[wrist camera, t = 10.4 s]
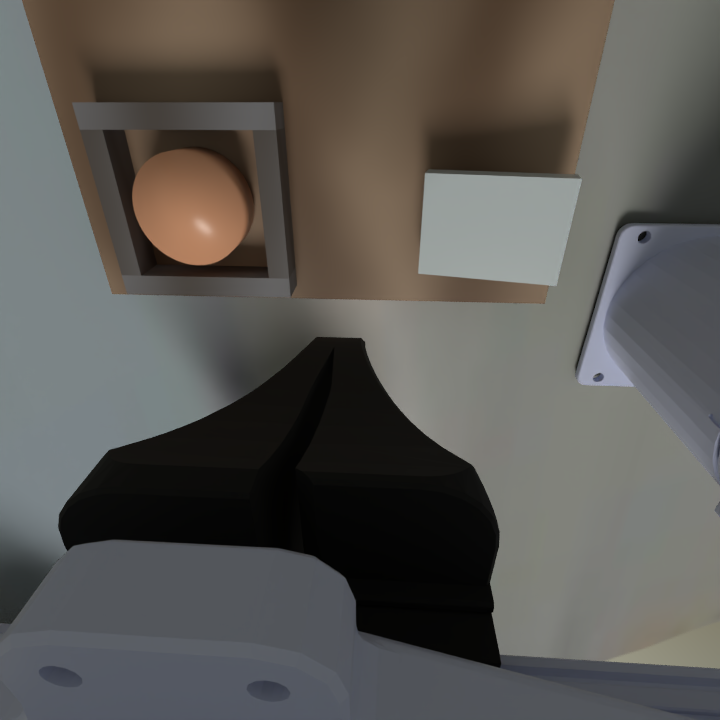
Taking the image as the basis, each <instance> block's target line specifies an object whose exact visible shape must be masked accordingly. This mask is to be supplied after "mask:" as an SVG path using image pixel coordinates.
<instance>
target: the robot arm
mask: <svg viewBox="0 0 720 720" xmlns="http://www.w3.org/2000/svg"><path fill="white" fill-rule="evenodd" d="M644 231H646V232H647V233H646V236H645V238H644V239H643V240H641V241H638V236H639V235H640V234H641V233H642V232H644ZM597 373H601V374H600V375H599V376H598V377H595V378H593V377H594V375H596V374H597ZM575 377H576V379H577V380H578V382H579V383H581V384H583V385H601V386H632V387H636V388H637V390H638V391H639V392H640V393H641V394H642V395H643V397H644V398H645V399H646V400H647V401H648V402H649V404H650V405H651V406H652V407H653V408H654V409H655V411H656V412H657V413H658V414H659V415H660V416H661V418H662V419H663V420H664V421H665V422H666V423H667V425H668V426H669V427H670V428H671V429H672V430H673V432H674V433H675V434H676V435H677V436H678V437H679V439H680V440H681V441H682V442H683V443H684V444H685V446H686V447H687V448H688V449H689V450H690V451H691V453H692V454H693V455H694V456H695V457H696V459H697V460H698V461H699V462H700V463H701V464H702V466H703V467H704V468H705V469H706V470H707V471H708V473H709V474H710V475H711V476H712V477H713V478H714V480H715V481H716V482H717V483H718V484H719V485H720V224H666V223H629V224H626V225H624V226H622V227H621V228H620V229H619V231H618V233H617V235H616V238H615V241H614V244H613V248H612V251H611V255H610V258H609V261H608V265H607V268H606V272H605V275H604V278H603V282H602V285H601V289H600V292H599V295H598V299H597V302H596V305H595V309H594V312H593V316H592V319H591V322H590V326H589V329H588V333H587V336H586V339H585V343H584V346H583V350H582V353H581V356H580V360H579V363H578V367H577V370H576V374H575ZM715 512H716V513H717V514H718V516H719V517H720V502H719V503H718V505H717V506H716V508H715ZM58 528H59V531H60V534H61V537H62V540H63V543H64V546H65V547H66V549H67V552H66V553H65V554H64V555H63V556H62V557H61V558H60V559H59V560H58V561H57V562H56V563H55V564H54V566H53V567H52V569H51V570H50V571H49V573H48V574H47V575H46V577H45V578H44V580H43V581H42V582H41V584H40V585H39V586H38V588H37V589H36V591H35V592H34V593H33V595H32V596H31V598H30V599H29V600H28V602H27V603H26V604H25V606H24V607H23V609H22V610H21V611H20V613H19V614H18V615H17V617H16V618H15V620H14V621H13V622H12V624H6V623H0V720H720V669H715V668H701V667H700V668H699V667H684V666H667V665H652V664H637V663H620V662H606V661H590V660H574V659H559V658H543V657H527V656H511V655H500V654H499V649H498V644H497V639H496V634H495V629H494V623H493V618H492V613H491V612H493V610H494V600H493V596H492V591H491V586H490V580H491V576H492V572H493V568H494V564H495V560H496V556H497V552H498V548H499V533H500V532H499V528H498V523H497V519H496V516H495V513H494V510H493V508H492V505H491V502H490V500H489V498H488V495H487V493H486V491H485V488H484V486H483V484H482V482H481V480H480V478H479V476H478V474H477V472H476V470H475V468H474V467H473V466H472V465H471V464H469V463H468V462H466V461H464V460H463V459H461V458H459V457H458V456H456V455H454V454H453V453H451V452H449V451H448V450H446V449H444V448H443V447H441V446H440V445H438V444H437V443H436V442H434V441H433V440H432V439H430V438H429V437H428V436H426V435H425V434H424V433H423V432H422V431H420V430H419V429H418V428H417V427H416V426H415V425H414V424H413V423H412V422H410V420H409V419H408V418H407V417H406V416H405V415H404V414H403V413H402V412H401V411H400V409H399V408H398V407H397V406H396V405H395V403H394V402H393V401H392V399H391V398H390V397H389V395H388V394H387V392H386V391H385V389H384V388H383V386H382V384H381V383H380V381H379V379H378V378H377V376H376V374H375V372H374V370H373V368H372V366H371V363H370V361H369V358H368V356H367V353H366V349H365V342H364V341H363V340H362V339H361V338H336V337H316V338H315V339H314V340H313V341H312V342H311V343H310V344H309V345H308V346H307V347H306V348H304V349H303V350H302V351H301V352H300V353H299V354H298V355H297V356H296V357H295V358H294V359H293V360H292V361H291V362H289V363H288V364H287V365H286V366H285V367H284V368H283V369H281V370H280V371H279V372H278V373H276V374H275V375H274V376H273V377H271V378H270V379H269V380H267V381H266V382H265V383H264V384H262V385H261V386H259V387H258V388H256V389H255V390H253V391H252V392H250V393H249V394H247V395H246V396H244V397H242V398H241V399H239V400H237V401H236V402H234V403H232V404H230V405H228V406H226V407H224V408H222V409H220V410H218V411H216V412H214V413H212V414H210V415H208V416H206V417H204V418H202V419H200V420H198V421H195V422H193V423H190V424H188V425H186V426H183V427H180V428H178V429H175V430H172V431H170V432H167V433H164V434H161V435H158V436H156V437H152V438H149V439H146V440H142V441H139V442H136V443H132V444H129V445H125V446H122V447H119V448H115V449H111V450H109V451H108V452H107V453H106V454H105V455H104V456H103V458H102V459H101V460H100V461H99V463H98V464H97V465H96V466H95V467H94V469H93V470H92V471H91V472H90V474H89V475H88V476H87V477H86V479H85V480H84V481H83V482H82V484H81V485H80V486H79V487H78V489H77V490H76V491H75V492H74V493H73V495H72V496H71V497H70V498H69V500H68V501H67V502H66V504H65V505H64V507H63V509H62V510H61V512H60V514H59V524H58Z"/></svg>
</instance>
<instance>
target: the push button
mask: <svg viewBox="0 0 720 720" xmlns="http://www.w3.org/2000/svg"><path fill="white" fill-rule="evenodd" d="M132 200H133V207H134V212H135V215H136V218H137V221H138V223H139V225H140V227H141V229H142V230H143V232H144V234H145V235H146V236H147V238H148V239H149V240H150V241H151V242H152V243H153V245H155V246H156V247H157V248H158V249H159V250H160V251H161V252H163V253H164V254H166V255H167V256H169V257H171V258H173V259H175V260H177V261H179V262H182V263H186V264H191V265H208V264H212V263H215V262H218V261H220V260H222V259H223V258H225V257H226V256H228V255H229V254H230V253H231V252H232V251H233V250H234V249H235V248H236V247H237V246H238V245H239V244H240V243H241V242H242V241H243V240H244V239H245V238H246V236H247V235H248V233H249V231H250V229H251V226H252V223H253V218H254V203H253V198H252V194H251V191H250V188H249V186H248V184H247V182H246V180H245V178H244V176H243V175H242V174H241V172H240V171H239V170H238V169H237V167H236V166H235V165H234V164H233V163H232V162H230V161H229V160H228V159H227V158H225V157H224V156H222V155H221V154H219V153H217V152H215V151H213V150H210V149H207V148H202V147H184V148H180V149H175V150H171V151H166V152H162V153H159V154H157V155H155V156H153V157H152V158H150V159H149V160H148V161H146V162H145V163H144V164H143V166H142V167H141V168H140V170H139V171H138V173H137V175H136V178H135V181H134V185H133V191H132Z"/></svg>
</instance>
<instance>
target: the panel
mask: <svg viewBox="0 0 720 720" xmlns="http://www.w3.org/2000/svg"><path fill="white" fill-rule="evenodd" d="M614 1H615V0H22V2H23V5H24V8H25V12H26V15H27V18H28V21H29V25H30V28H31V31H32V34H33V38H34V41H35V44H36V47H37V51H38V54H39V57H40V60H41V64H42V67H43V70H44V73H45V77H46V80H47V83H48V86H49V90H50V93H51V96H52V100H53V103H54V106H55V109H56V113H57V116H58V119H59V122H60V126H61V129H62V132H63V135H64V139H65V142H66V145H67V148H68V152H69V155H70V158H71V161H72V165H73V168H74V171H75V174H76V178H77V181H78V184H79V187H80V191H81V194H82V197H83V200H84V204H85V207H86V210H87V213H88V217H89V220H90V223H91V226H92V230H93V233H94V236H95V239H96V243H97V246H98V249H99V252H100V256H101V259H102V262H103V265H104V269H105V272H106V275H107V278H108V282H109V285H110V288H111V291H112V294H138V295H183V296H227V297H272V298H316V299H361V300H405V301H450V302H494V303H539V304H545V300H546V296H547V291H548V287H549V285H539V284H528V283H517V282H506V281H495V280H483V279H472V278H461V277H450V276H439V275H428V274H418V268H419V254H420V239H421V225H422V211H423V196H424V182H425V173H426V172H427V171H428V170H429V169H435V170H464V171H493V172H521V173H550V174H575V170H576V166H577V161H578V157H579V153H580V148H581V144H582V140H583V135H584V131H585V127H586V122H587V118H588V114H589V109H590V105H591V101H592V96H593V92H594V88H595V83H596V79H597V75H598V70H599V66H600V62H601V57H602V53H603V49H604V44H605V40H606V36H607V31H608V27H609V23H610V18H611V14H612V9H613V5H614ZM184 147H202V148H207V149H210V150H213V151H215V152H217V153H219V154H221V155H222V156H224V157H225V158H227V159H228V160H229V161H230V162H232V163H233V164H234V165H235V166H236V167H237V169H238V170H239V171H240V172H241V174H242V175H243V176H244V178H245V180H246V182H247V184H248V186H249V188H250V191H251V194H252V198H253V203H254V218H253V223H252V226H251V229H250V231H249V233H248V235H247V236H246V238H245V239H244V240H243V241H242V242H241V243H240V244H239V245H238V246H237V247H236V248H235V249H234V250H233V251H232V252H231V253H230V254H229V255H228V256H226V257H225V258H223V259H222V260H220V261H218V262H215V263H212V264H208V265H191V264H186V263H182V262H179V261H177V260H175V259H173V258H171V257H169V256H167V255H166V254H164V253H163V252H161V251H160V250H159V249H158V248H157V247H156V246H155V245H153V243H152V242H151V241H150V240H149V239H148V238H147V236H146V235H145V234H144V232H143V230H142V229H141V227H140V225H139V223H138V221H137V218H136V215H135V212H134V207H133V200H132V191H133V185H134V181H135V178H136V175H137V173H138V171H139V170H140V168H141V167H142V166H143V164H144V163H145V162H146V161H148V160H149V159H150V158H152V157H153V156H155V155H157V154H159V153H162V152H166V151H171V150H175V149H180V148H184Z"/></svg>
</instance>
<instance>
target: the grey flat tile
mask: <svg viewBox="0 0 720 720" xmlns="http://www.w3.org/2000/svg"><path fill="white" fill-rule="evenodd" d="M581 181H582V178H581V177H580V176H579V175H578V174H550V173H521V172H493V171H464V170H435V169H429V170H428V171H427V172H426V173H425V182H424V196H423V211H422V225H421V239H420V254H419V268H418V274H428V275H439V276H450V277H461V278H472V279H483V280H495V281H506V282H517V283H528V284H539V285H550V286H556V285H557V281H558V277H559V273H560V269H561V265H562V260H563V256H564V252H565V248H566V244H567V240H568V235H569V231H570V227H571V223H572V219H573V215H574V210H575V206H576V202H577V198H578V194H579V190H580V185H581Z"/></svg>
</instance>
